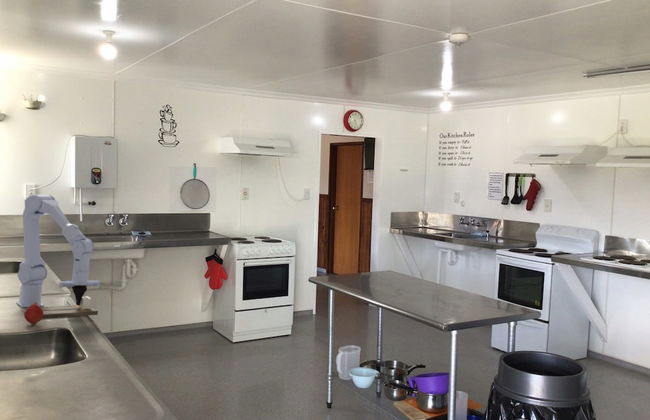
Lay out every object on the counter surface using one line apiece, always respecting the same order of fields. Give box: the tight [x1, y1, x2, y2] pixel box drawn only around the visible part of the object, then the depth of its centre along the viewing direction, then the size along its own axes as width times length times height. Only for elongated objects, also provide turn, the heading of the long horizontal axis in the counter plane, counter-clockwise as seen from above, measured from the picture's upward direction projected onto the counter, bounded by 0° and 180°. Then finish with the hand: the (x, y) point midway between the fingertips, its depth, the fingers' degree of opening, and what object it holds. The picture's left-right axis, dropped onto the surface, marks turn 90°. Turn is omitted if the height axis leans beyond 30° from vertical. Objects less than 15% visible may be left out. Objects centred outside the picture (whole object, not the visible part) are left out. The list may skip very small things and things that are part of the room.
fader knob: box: [79, 295, 92, 309], centre depth 219 cm, size 5×3×4 cm, turn 40°
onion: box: [23, 302, 43, 326], centre depth 194 cm, size 6×6×8 cm
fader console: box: [40, 304, 99, 320], centre depth 214 cm, size 12×21×2 cm, turn 130°
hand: (78, 305), depth 217 cm, fingers closed
